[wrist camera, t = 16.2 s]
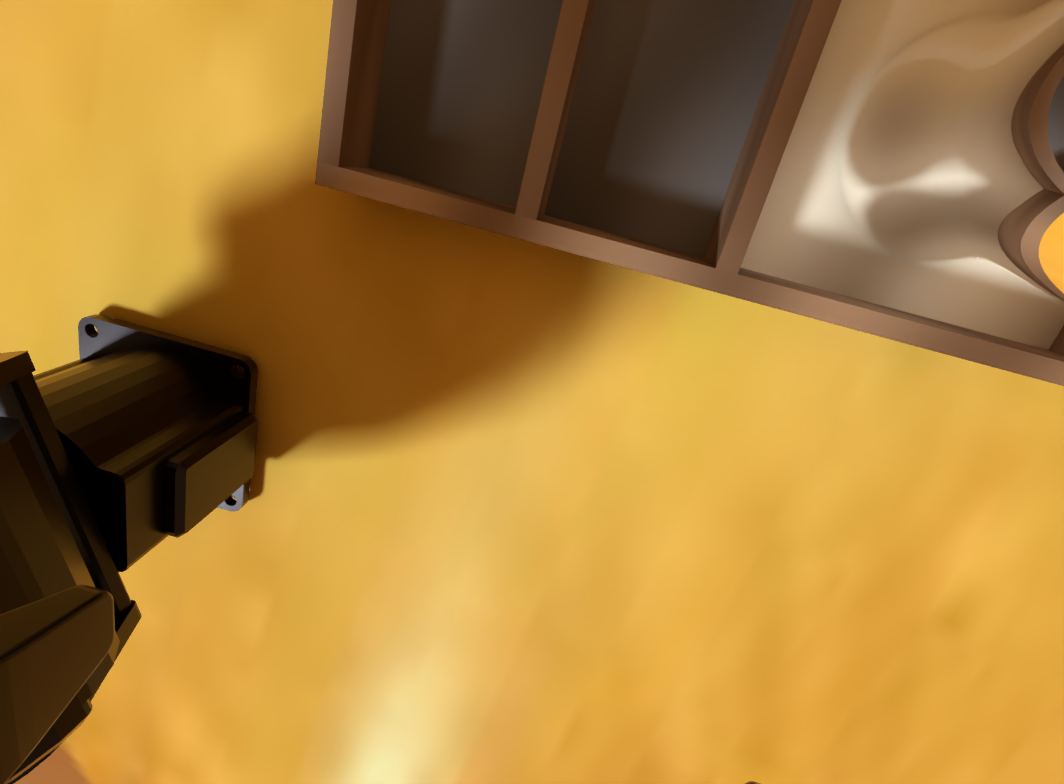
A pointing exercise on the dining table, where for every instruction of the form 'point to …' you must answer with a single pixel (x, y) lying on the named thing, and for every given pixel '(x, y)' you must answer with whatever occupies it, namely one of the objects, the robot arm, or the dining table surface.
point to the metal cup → (967, 147)
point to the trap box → (666, 149)
